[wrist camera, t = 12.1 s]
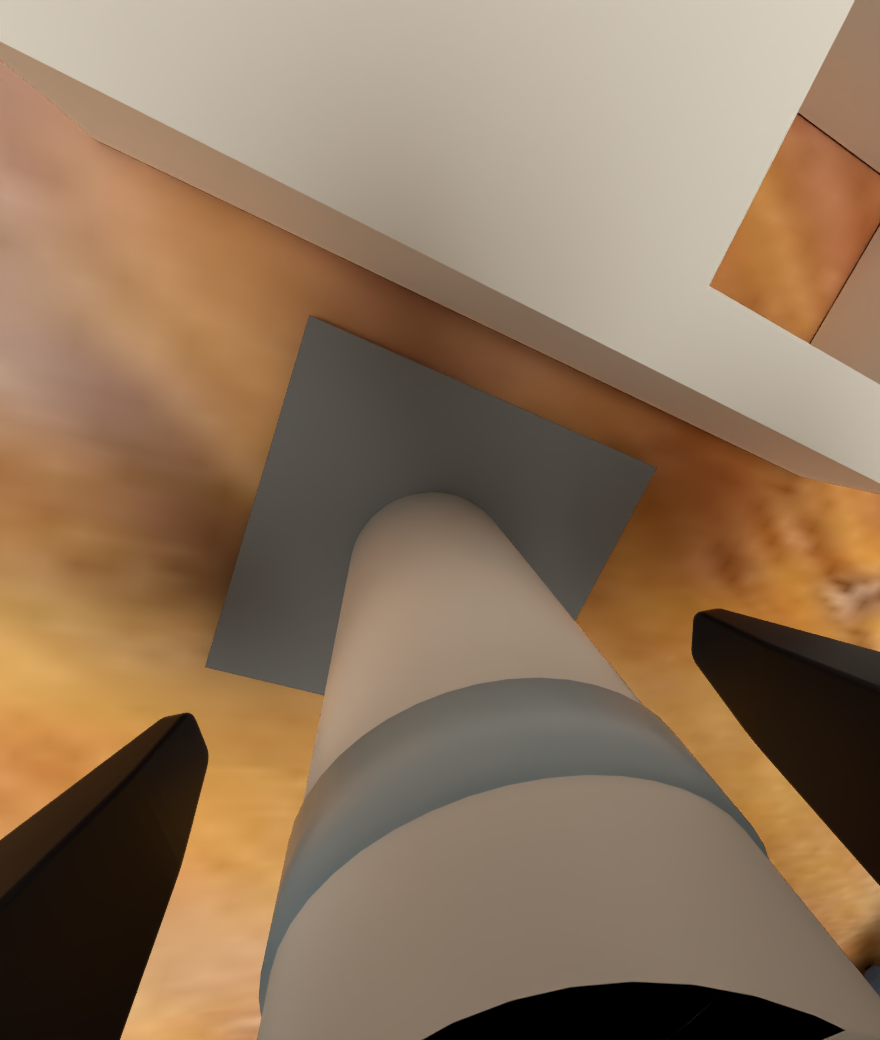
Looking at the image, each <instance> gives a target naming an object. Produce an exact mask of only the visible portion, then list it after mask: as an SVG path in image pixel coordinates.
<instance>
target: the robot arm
mask: <svg viewBox="0 0 880 1040" xmlns="http://www.w3.org/2000/svg"><path fill="white" fill-rule="evenodd" d="M691 650H692V656H693V659H694V661H695V663H696V664H697V666H698V667H699V669H700V670H701V671H702V673H703V674H704V675H705V677H706V678H707V679H708V681H709V682H710V684H711V685H712V686H713V688H714V689H715V690H716V692H717V693H718V694H719V696H720V697H721V699H722V700H723V701H724V703H725V704H726V705H727V707H728V708H729V709H730V711H731V712H732V713H733V715H734V716H735V718H736V719H737V720H738V722H739V723H740V724H741V726H742V727H743V728H744V730H745V731H746V732H747V733H748V735H749V736H750V737H751V739H752V740H753V741H754V742H755V744H756V745H757V746H758V747H759V748H760V749H761V751H762V752H763V753H764V754H765V755H766V756H767V758H768V759H769V760H770V761H771V762H772V763H773V764H774V766H775V767H776V768H777V769H778V770H779V771H780V772H781V774H782V775H783V776H784V777H785V778H786V779H787V780H788V782H789V783H790V784H791V785H792V786H793V787H794V788H795V790H796V791H797V792H798V793H799V794H800V795H801V796H802V798H803V799H804V800H805V801H806V802H807V803H808V804H809V806H810V807H811V808H812V809H813V810H814V811H815V812H816V814H817V815H818V816H819V817H820V818H821V819H822V820H823V822H824V823H825V824H826V825H827V826H828V827H829V828H830V830H831V831H832V832H833V833H834V834H835V835H836V836H837V838H838V839H839V840H840V841H841V842H842V843H843V844H844V846H845V847H846V848H847V849H848V850H849V851H850V852H851V854H852V855H853V856H854V857H855V858H856V859H857V860H858V862H859V863H860V864H861V865H862V866H863V867H864V868H865V870H866V871H867V872H868V873H869V874H870V875H871V876H872V877H873V879H874V880H875V881H876V882H877V883H878V884H879V885H880V652H879V651H875V650H871V649H867V648H864V647H860V646H856V645H853V644H849V643H845V642H842V641H838V640H834V639H831V638H827V637H823V636H820V635H816V634H812V633H809V632H805V631H801V630H797V629H794V628H790V627H786V626H783V625H779V624H775V623H772V622H768V621H764V620H761V619H757V618H753V617H750V616H746V615H742V614H739V613H735V612H731V611H727V610H724V609H711V610H706V611H701V612H698V613H697V614H696V615H695V616H694V619H693V632H692V648H691ZM207 765H208V749H207V746H206V744H205V741H204V739H203V736H202V734H201V732H200V729H199V727H198V724H197V722H196V719H195V718H194V716H193V715H192V714H190V713H182V714H177V715H172V716H167V717H164V718H162V719H160V720H159V721H157V722H156V723H155V724H154V725H152V726H151V727H150V728H148V729H147V730H146V731H144V732H143V733H142V734H140V735H139V736H138V737H136V738H135V739H134V740H132V741H131V742H130V743H128V744H127V745H126V746H124V747H123V748H122V749H120V750H119V751H118V752H116V753H115V754H114V755H112V756H111V757H110V758H108V759H107V760H106V761H104V762H103V763H102V764H100V765H99V766H98V767H97V768H95V769H94V770H93V771H91V772H90V773H89V774H87V775H86V776H85V777H83V778H82V779H81V780H79V781H78V782H77V783H75V784H74V785H73V786H71V787H70V788H69V789H67V790H66V791H65V792H63V793H62V794H61V795H59V796H58V797H57V798H55V799H54V800H53V801H51V802H50V803H49V804H47V805H46V806H45V807H44V808H42V809H41V810H40V811H38V812H37V813H36V814H34V815H33V816H32V817H30V818H29V819H28V820H26V821H25V822H24V823H22V824H21V825H20V826H18V827H17V828H16V829H14V830H13V831H12V832H10V833H9V834H8V835H6V836H5V837H4V838H2V839H1V840H0V1040H120V1038H121V1035H122V1032H123V1030H124V1027H125V1024H126V1021H127V1018H128V1016H129V1013H130V1010H131V1007H132V1004H133V1001H134V999H135V996H136V993H137V990H138V987H139V985H140V982H141V979H142V976H143V973H144V970H145V968H146V965H147V962H148V959H149V956H150V954H151V951H152V948H153V945H154V942H155V940H156V937H157V934H158V931H159V928H160V925H161V923H162V920H163V917H164V914H165V911H166V909H167V906H168V903H169V900H170V897H171V894H172V892H173V889H174V886H175V883H176V880H177V877H178V874H179V871H180V868H181V865H182V861H183V858H184V854H185V851H186V847H187V843H188V839H189V835H190V832H191V828H192V824H193V820H194V816H195V812H196V808H197V804H198V801H199V797H200V793H201V789H202V785H203V781H204V777H205V773H206V770H207Z"/></svg>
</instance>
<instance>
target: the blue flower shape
mask: <svg viewBox="0 0 880 1040" xmlns="http://www.w3.org/2000/svg"><path fill="white" fill-rule="evenodd" d="M865 979H866V980H867V981H868V983H869V984H870V985H871V986H872V988H873V989H874V990H875V991H876V993H877V994H878V995H879V996H880V965H876V964H874V965H872V966H871V967H870V968H869V969H867V970H866V971H865Z"/></svg>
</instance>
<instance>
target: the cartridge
mask: <svg viewBox="0 0 880 1040" xmlns="http://www.w3.org/2000/svg"><path fill="white" fill-rule="evenodd" d="M259 1003H260V1011H261V1023H260V1028H259V1033H258V1038H257V1040H880V996H879V995H878V994H877V993H876V991H875V990H874V989H873V988H872V986H871V985H870V984H869V983H868V981H867V980H866V979H865V978H864V977H863V975H862V974H861V973H860V972H859V970H858V969H857V968H856V967H855V965H854V964H853V963H852V962H851V961H850V959H849V958H848V957H847V956H846V954H845V953H844V952H843V951H842V949H841V948H840V947H839V946H838V945H837V943H836V942H835V941H834V940H833V938H832V937H831V936H830V935H829V933H828V932H827V931H826V930H825V928H824V927H823V926H822V925H821V924H820V922H819V921H818V920H817V919H816V917H815V916H814V915H813V914H812V912H811V911H810V910H809V909H808V908H807V906H806V905H805V904H804V903H803V901H802V900H801V899H800V898H799V896H798V895H797V894H796V893H795V892H794V890H793V889H792V888H791V887H790V885H789V884H788V883H787V882H786V880H785V879H784V878H783V877H782V876H781V874H780V873H779V872H778V871H777V869H776V868H775V867H774V866H773V864H772V863H771V862H770V861H769V858H768V855H767V852H766V850H765V847H764V844H763V843H762V841H761V839H760V838H759V836H758V835H757V833H756V831H755V830H754V828H753V827H752V825H751V824H750V823H749V822H748V821H747V819H746V818H745V817H744V816H743V815H742V813H741V812H740V811H739V810H738V809H737V807H736V806H735V805H734V804H733V803H732V801H731V800H730V799H729V798H728V797H727V795H726V794H725V793H724V792H723V791H722V789H721V788H720V787H719V786H718V785H717V783H716V782H715V781H714V780H713V779H712V778H711V776H710V775H709V774H708V773H707V772H706V770H705V769H704V768H703V767H702V766H701V764H700V763H699V762H698V761H697V760H696V758H695V757H694V756H693V755H692V754H691V752H690V751H689V750H688V749H687V748H686V746H685V745H684V744H683V743H682V742H681V740H680V739H679V738H678V737H677V736H676V734H675V733H674V732H673V731H672V730H671V729H670V728H669V727H668V726H667V725H666V724H665V723H664V722H663V721H662V720H661V719H660V718H659V717H658V716H657V715H655V714H654V713H653V712H651V711H650V710H649V709H647V708H646V707H645V706H643V704H642V703H641V702H640V701H639V699H638V698H637V697H636V696H635V694H634V693H633V692H632V691H631V690H630V688H629V687H628V686H627V685H626V683H625V682H624V681H623V680H622V678H621V677H620V676H619V675H618V674H617V672H616V671H615V670H614V669H613V667H612V666H611V665H610V664H609V662H608V661H607V660H606V659H605V658H604V656H603V655H602V654H601V653H600V651H599V650H598V649H597V648H596V646H595V645H594V644H593V643H592V642H591V640H590V639H589V638H588V637H587V635H586V634H585V633H584V632H583V630H582V629H581V628H580V627H579V626H578V624H577V623H576V622H575V621H574V619H573V618H572V617H571V616H570V614H569V613H568V612H567V611H566V610H565V608H564V607H563V606H562V605H561V603H560V602H559V601H558V600H557V598H556V597H555V596H554V595H553V594H552V592H551V591H550V590H549V589H548V587H547V586H546V585H545V584H544V582H543V581H542V580H541V579H540V578H539V576H538V575H537V574H536V573H535V571H534V570H533V569H532V568H531V566H530V565H529V564H528V563H527V561H526V560H525V559H524V558H523V557H522V555H521V554H520V553H519V552H518V550H517V549H516V548H515V547H514V545H513V544H512V543H511V542H510V541H509V539H508V538H507V537H506V536H505V534H504V533H503V532H502V531H501V529H500V528H499V527H498V526H497V525H496V523H495V522H494V521H493V520H492V519H491V517H490V516H489V515H488V514H487V513H486V512H485V511H484V510H482V509H481V508H480V507H479V506H477V505H475V504H474V503H472V502H471V501H469V500H466V499H464V498H462V497H459V496H456V495H452V494H448V493H441V492H425V493H417V494H413V495H409V496H405V497H403V498H400V499H398V500H395V501H394V502H392V503H390V504H388V505H386V506H385V507H384V508H382V509H381V510H379V511H378V512H377V513H376V514H375V515H374V516H373V517H372V518H371V519H370V520H369V521H368V522H367V523H366V525H365V526H364V527H363V529H362V530H361V532H360V534H359V535H358V537H357V540H356V542H355V544H354V548H353V551H352V555H351V560H350V565H349V570H348V576H347V581H346V586H345V591H344V596H343V601H342V606H341V612H340V617H339V622H338V627H337V632H336V637H335V642H334V648H333V653H332V658H331V663H330V668H329V673H328V678H327V683H326V689H325V694H324V699H323V704H322V709H321V714H320V719H319V725H318V730H317V735H316V740H315V745H314V750H313V755H312V761H311V766H310V771H309V776H308V781H307V786H306V791H305V797H304V802H303V804H302V807H301V809H300V811H299V813H298V815H297V817H296V819H295V821H294V825H293V828H292V832H291V835H290V839H289V842H288V847H287V852H286V856H285V861H284V866H283V871H282V875H281V880H280V885H279V890H278V894H277V899H276V904H275V909H274V913H273V918H272V923H271V928H270V932H269V937H268V942H267V947H266V951H265V956H264V961H263V966H262V970H261V977H260V989H259Z"/></svg>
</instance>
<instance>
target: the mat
mask: <svg viewBox="0 0 880 1040" xmlns="http://www.w3.org/2000/svg"><path fill="white" fill-rule="evenodd" d="M656 469H657V468H656V467H654V466H652V465H649V464H647V463H645V462H643V461H640V460H638V459H636V458H633V457H631V456H629V455H627V454H624V453H622V452H620V451H618V450H615V449H613V448H611V447H608V446H606V445H604V444H602V443H599V442H597V441H595V440H592V439H590V438H588V437H586V436H583V435H581V434H579V433H576V432H574V431H572V430H570V429H567V428H565V427H563V426H561V425H558V424H556V423H554V422H551V421H549V420H547V419H545V418H542V417H540V416H538V415H535V414H533V413H531V412H529V411H526V410H524V409H522V408H519V407H517V406H515V405H513V404H510V403H508V402H506V401H504V400H501V399H499V398H497V397H494V396H492V395H490V394H488V393H485V392H483V391H481V390H478V389H476V388H474V387H472V386H469V385H467V384H465V383H462V382H460V381H458V380H456V379H453V378H451V377H449V376H447V375H444V374H442V373H440V372H437V371H435V370H433V369H431V368H428V367H426V366H424V365H421V364H419V363H417V362H415V361H412V360H410V359H408V358H405V357H403V356H401V355H399V354H396V353H394V352H392V351H390V350H387V349H385V348H383V347H380V346H378V345H376V344H374V343H371V342H369V341H367V340H364V339H362V338H360V337H358V336H355V335H353V334H351V333H348V332H346V331H344V330H342V329H339V328H337V327H335V326H333V325H330V324H328V323H326V322H323V321H321V320H319V319H317V318H314V317H312V316H310V315H309V318H308V322H307V325H306V328H305V332H304V335H303V338H302V342H301V345H300V349H299V352H298V355H297V359H296V362H295V365H294V369H293V372H292V376H291V379H290V382H289V386H288V389H287V392H286V396H285V399H284V403H283V406H282V409H281V413H280V416H279V419H278V423H277V426H276V430H275V433H274V436H273V440H272V443H271V446H270V450H269V453H268V457H267V460H266V463H265V467H264V470H263V473H262V477H261V480H260V484H259V487H258V490H257V494H256V497H255V500H254V504H253V507H252V511H251V514H250V517H249V521H248V524H247V527H246V531H245V534H244V538H243V541H242V544H241V548H240V551H239V554H238V558H237V561H236V565H235V568H234V571H233V575H232V578H231V581H230V585H229V588H228V592H227V595H226V598H225V602H224V605H223V608H222V612H221V615H220V619H219V622H218V625H217V629H216V632H215V635H214V639H213V642H212V646H211V649H210V652H209V656H208V659H207V662H206V666H205V667H207V668H211V669H215V670H219V671H223V672H228V673H232V674H236V675H240V676H245V677H249V678H253V679H257V680H262V681H266V682H270V683H274V684H279V685H283V686H287V687H291V688H296V689H300V690H304V691H308V692H312V693H317V694H321V695H324V694H325V689H326V683H327V678H328V673H329V668H330V663H331V658H332V653H333V648H334V642H335V637H336V632H337V627H338V622H339V617H340V612H341V606H342V601H343V596H344V591H345V586H346V581H347V576H348V570H349V565H350V560H351V555H352V551H353V548H354V544H355V542H356V540H357V537H358V535H359V534H360V532H361V530H362V529H363V527H364V526H365V525H366V523H367V522H368V521H369V520H370V519H371V518H372V517H373V516H374V515H375V514H376V513H377V512H378V511H379V510H381V509H382V508H384V507H385V506H386V505H388V504H390V503H392V502H394V501H395V500H398V499H400V498H403V497H405V496H409V495H413V494H417V493H425V492H441V493H448V494H452V495H456V496H459V497H462V498H464V499H466V500H469V501H471V502H472V503H474V504H475V505H477V506H479V507H480V508H481V509H482V510H484V511H485V512H486V513H487V514H488V515H489V516H490V517H491V519H492V520H493V521H494V522H495V523H496V525H497V526H498V527H499V528H500V529H501V531H502V532H503V533H504V534H505V536H506V537H507V538H508V539H509V541H510V542H511V543H512V544H513V545H514V547H515V548H516V549H517V550H518V552H519V553H520V554H521V555H522V557H523V558H524V559H525V560H526V561H527V563H528V564H529V565H530V566H531V568H532V569H533V570H534V571H535V573H536V574H537V575H538V576H539V578H540V579H541V580H542V581H543V582H544V584H545V585H546V586H547V587H548V589H549V590H550V591H551V592H552V594H553V595H554V596H555V597H556V598H557V600H558V601H559V602H560V603H561V605H562V606H563V607H564V608H565V610H566V611H567V612H568V613H569V614H570V616H571V617H572V618H573V619H574V621H575V620H576V618H577V616H578V614H579V612H580V610H581V609H582V607H583V605H584V603H585V601H586V599H587V597H588V596H589V594H590V592H591V590H592V588H593V586H594V584H595V582H596V581H597V579H598V577H599V575H600V573H601V571H602V569H603V568H604V566H605V564H606V562H607V560H608V558H609V556H610V555H611V553H612V551H613V549H614V547H615V545H616V543H617V541H618V540H619V538H620V536H621V534H622V532H623V530H624V528H625V527H626V525H627V523H628V521H629V519H630V517H631V515H632V513H633V512H634V510H635V508H636V506H637V504H638V502H639V500H640V499H641V497H642V495H643V493H644V491H645V489H646V487H647V486H648V484H649V482H650V480H651V478H652V476H653V474H654V472H655V471H656Z"/></svg>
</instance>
